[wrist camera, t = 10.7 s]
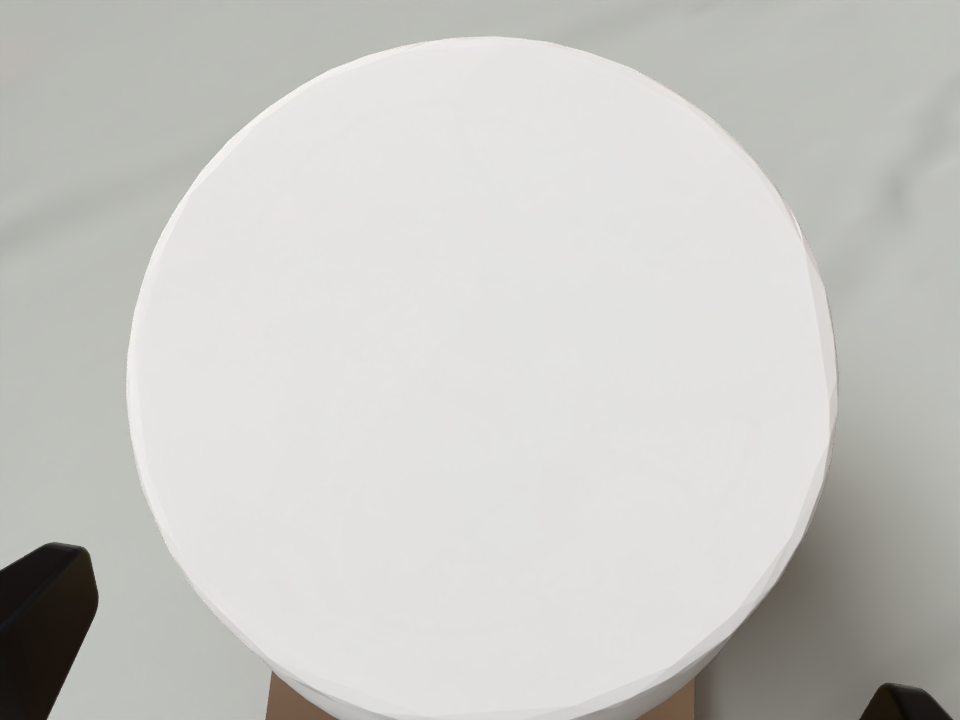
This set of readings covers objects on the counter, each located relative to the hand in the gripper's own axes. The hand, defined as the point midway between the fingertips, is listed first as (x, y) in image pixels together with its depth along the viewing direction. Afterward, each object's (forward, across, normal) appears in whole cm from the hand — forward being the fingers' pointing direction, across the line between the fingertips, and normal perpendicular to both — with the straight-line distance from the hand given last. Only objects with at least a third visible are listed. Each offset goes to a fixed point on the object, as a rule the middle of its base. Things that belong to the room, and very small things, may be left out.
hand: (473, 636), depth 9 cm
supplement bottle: (+8, 0, +4) cm, 9 cm away
